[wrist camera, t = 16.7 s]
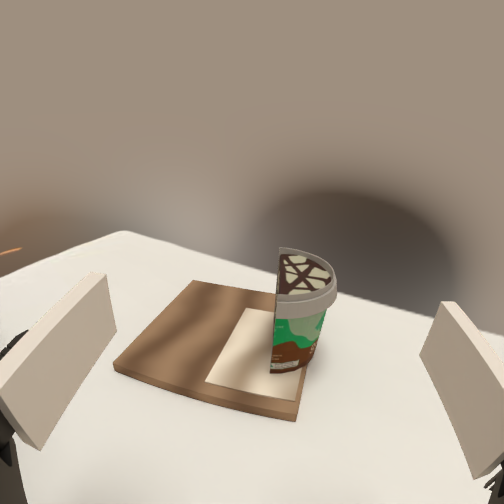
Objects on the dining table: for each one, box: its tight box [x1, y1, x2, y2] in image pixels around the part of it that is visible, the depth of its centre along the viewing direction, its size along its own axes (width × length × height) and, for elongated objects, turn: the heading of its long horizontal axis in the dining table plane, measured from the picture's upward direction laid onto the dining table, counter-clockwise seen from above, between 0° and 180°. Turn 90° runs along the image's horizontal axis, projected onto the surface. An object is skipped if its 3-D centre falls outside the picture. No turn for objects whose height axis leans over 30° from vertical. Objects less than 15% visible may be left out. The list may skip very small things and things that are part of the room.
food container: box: [270, 247, 337, 374], centre depth 32 cm, size 12×6×10 cm, turn 174°
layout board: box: [113, 280, 307, 422], centre depth 37 cm, size 20×22×1 cm
